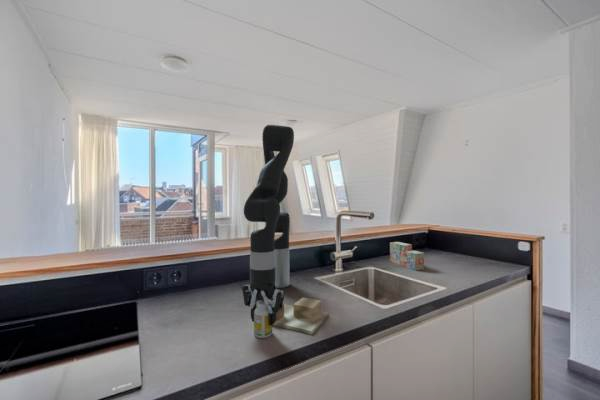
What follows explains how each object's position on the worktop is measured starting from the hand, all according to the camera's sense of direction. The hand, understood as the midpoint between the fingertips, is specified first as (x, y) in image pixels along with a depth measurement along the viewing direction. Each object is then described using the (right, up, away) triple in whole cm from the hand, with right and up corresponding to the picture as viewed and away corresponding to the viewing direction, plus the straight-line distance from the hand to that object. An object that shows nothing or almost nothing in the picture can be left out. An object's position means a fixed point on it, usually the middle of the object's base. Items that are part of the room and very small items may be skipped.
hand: (263, 322), depth 82 cm
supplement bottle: (0, -4, 0) cm, 4 cm away
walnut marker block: (+3, -3, +9) cm, 10 cm away
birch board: (+9, -3, +10) cm, 14 cm away
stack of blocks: (+73, -2, +79) cm, 108 cm away
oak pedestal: (+13, -3, +11) cm, 18 cm away
